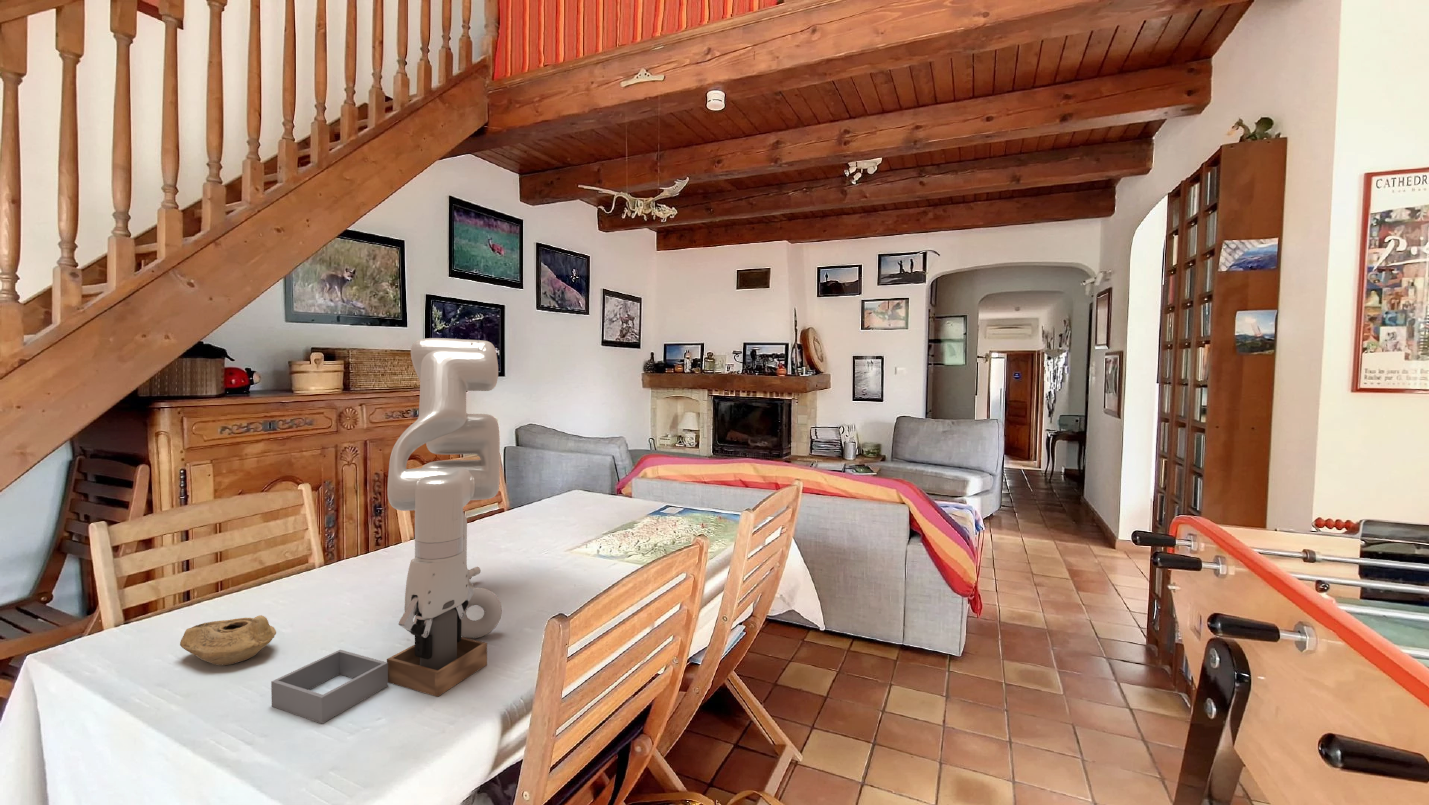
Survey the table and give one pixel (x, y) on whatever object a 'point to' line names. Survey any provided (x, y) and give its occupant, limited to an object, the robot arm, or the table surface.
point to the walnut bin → (436, 682)
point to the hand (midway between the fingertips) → (438, 647)
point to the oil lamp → (228, 639)
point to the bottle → (442, 639)
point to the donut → (489, 618)
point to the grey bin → (320, 708)
